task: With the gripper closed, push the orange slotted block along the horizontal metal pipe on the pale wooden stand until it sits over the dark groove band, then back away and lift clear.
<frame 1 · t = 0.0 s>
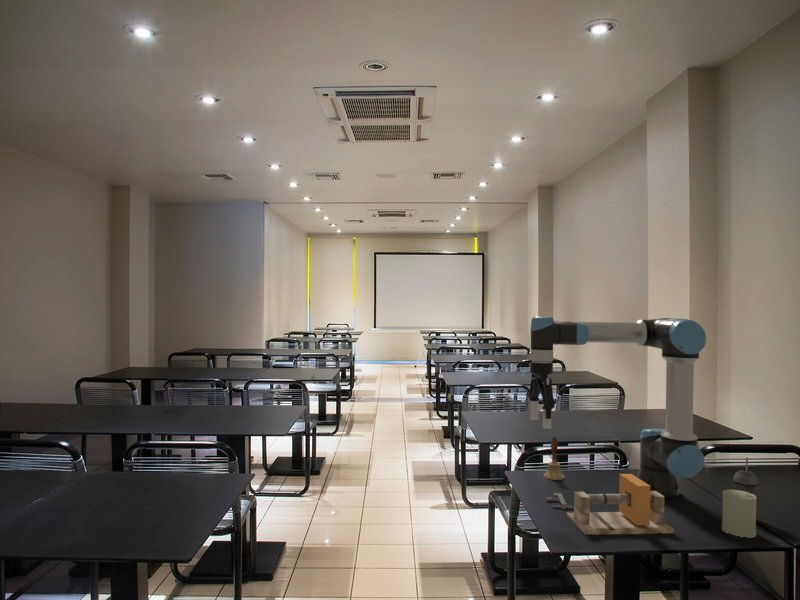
hand: (540, 423, 194), 28 cm above the table, tool pointing down, fingers open, 13 cm apart
pipe rig: (618, 524, 179), on the table
hand bell: (554, 477, 226), on the table
clamp: (561, 507, 195), on the table
pale green cylinder: (738, 532, 175), on the table
orange slotted block: (634, 498, 180), point 8 cm above the table, slide at 0.0 cm
beverage cup: (745, 518, 187), on the table
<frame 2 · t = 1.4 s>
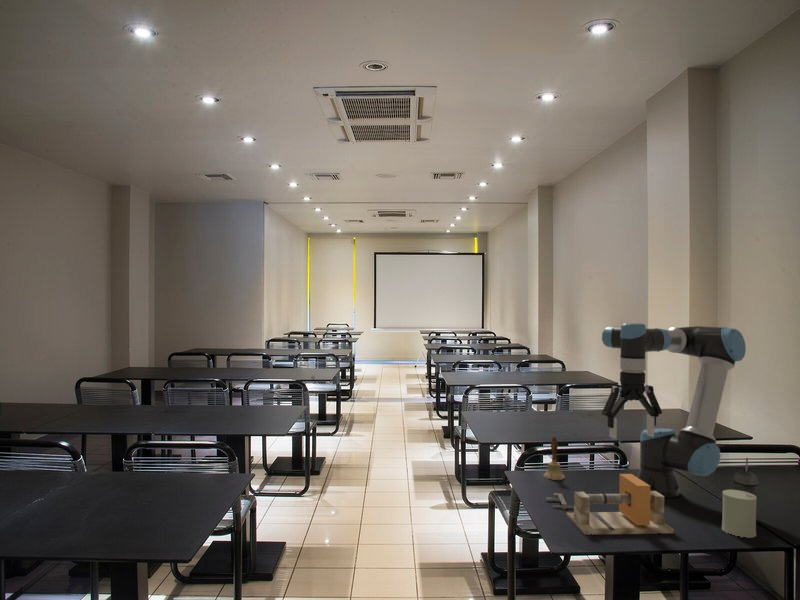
hand: (631, 437, 183), 27 cm above the table, tool pointing down, fingers open, 13 cm apart
nothing on the table moved.
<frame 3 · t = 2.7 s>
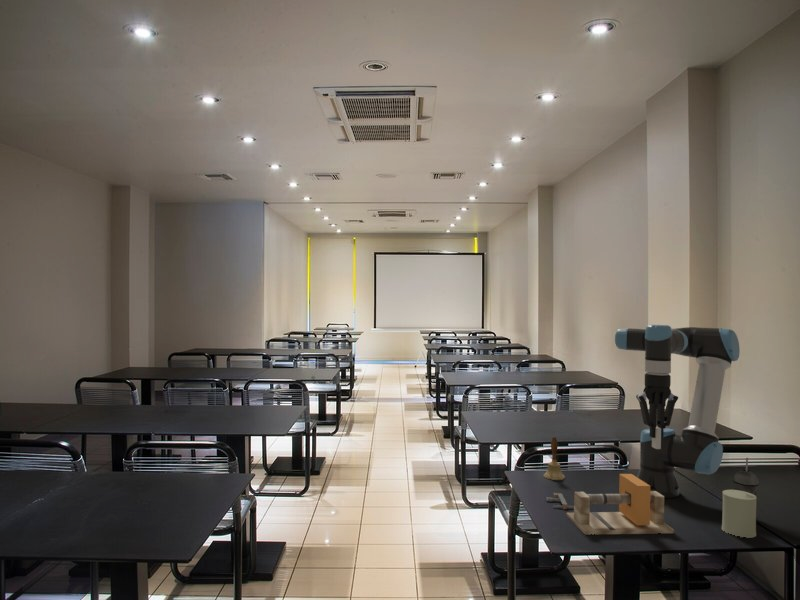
hand: (656, 447, 180), 24 cm above the table, tool pointing down, fingers closed
nothing on the table moved.
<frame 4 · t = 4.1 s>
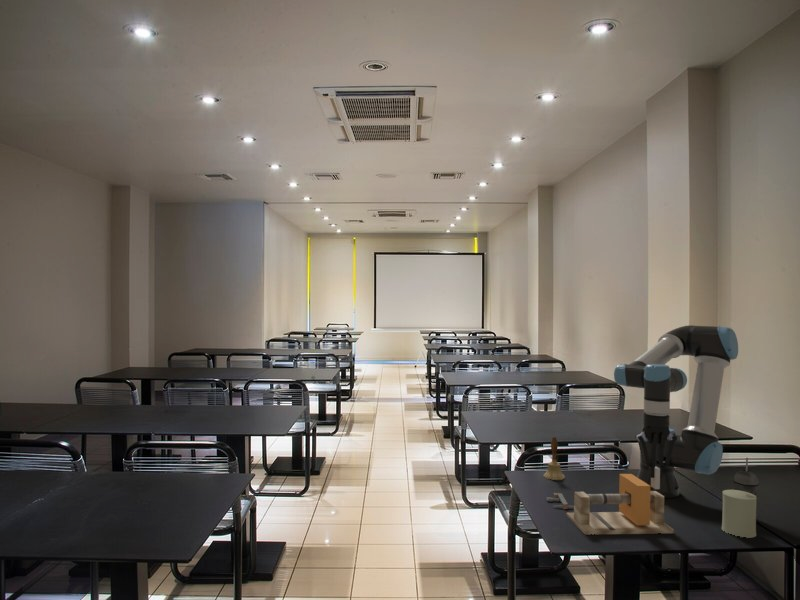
hand: (655, 487, 180), 11 cm above the table, tool pointing down, fingers closed
nothing on the table moved.
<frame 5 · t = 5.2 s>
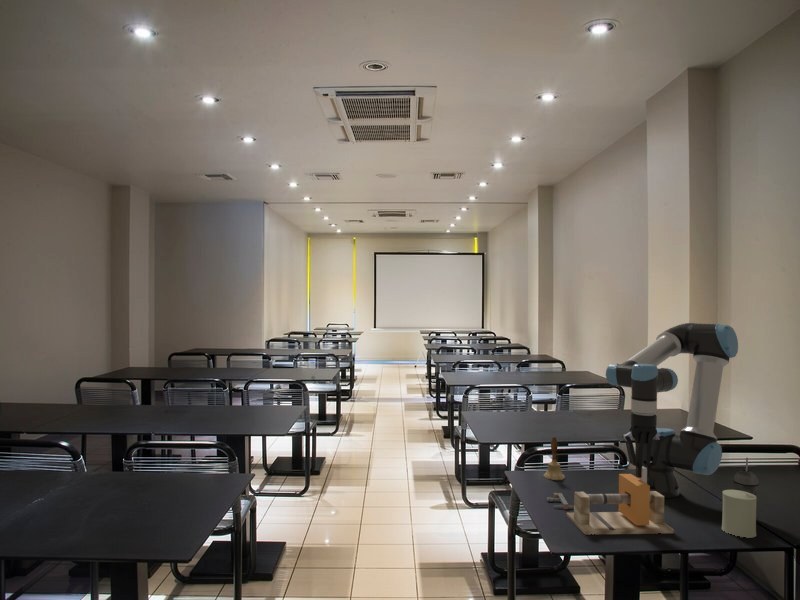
hand: (642, 487, 180), 12 cm above the table, tool pointing down, fingers closed
orange slotted block: (633, 498, 180), point 8 cm above the table, slide at 0.2 cm, touching gripper
everything else where it was.
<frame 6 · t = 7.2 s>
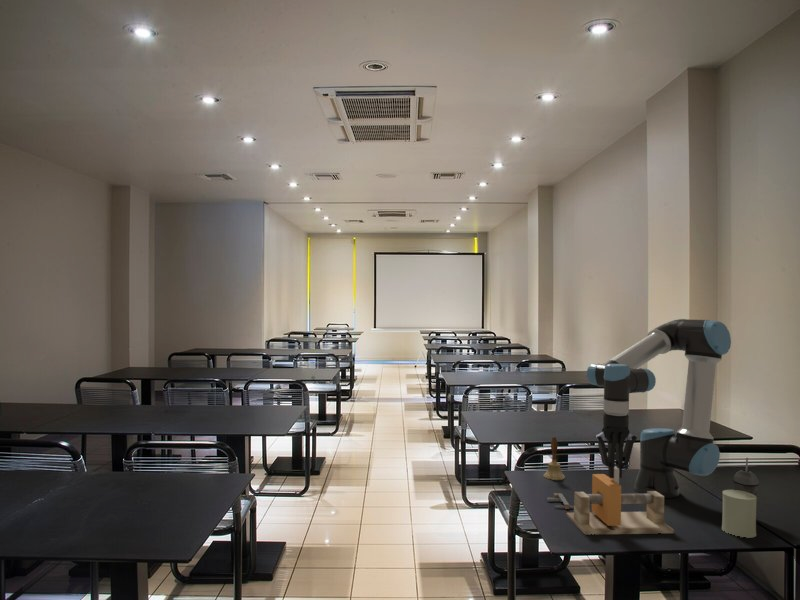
hand: (614, 488, 179), 11 cm above the table, tool pointing down, fingers closed
orange slotted block: (606, 498, 179), point 8 cm above the table, slide at 9.2 cm, touching gripper
everything else where it was.
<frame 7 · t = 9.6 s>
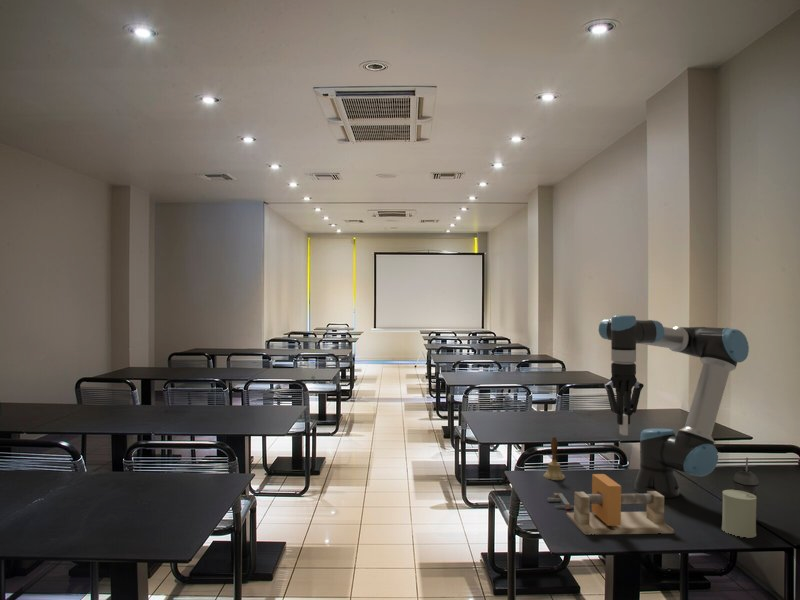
hand: (623, 434, 186), 27 cm above the table, tool pointing down, fingers closed
orange slotted block: (606, 498, 179), point 8 cm above the table, slide at 9.2 cm
everything else where it was.
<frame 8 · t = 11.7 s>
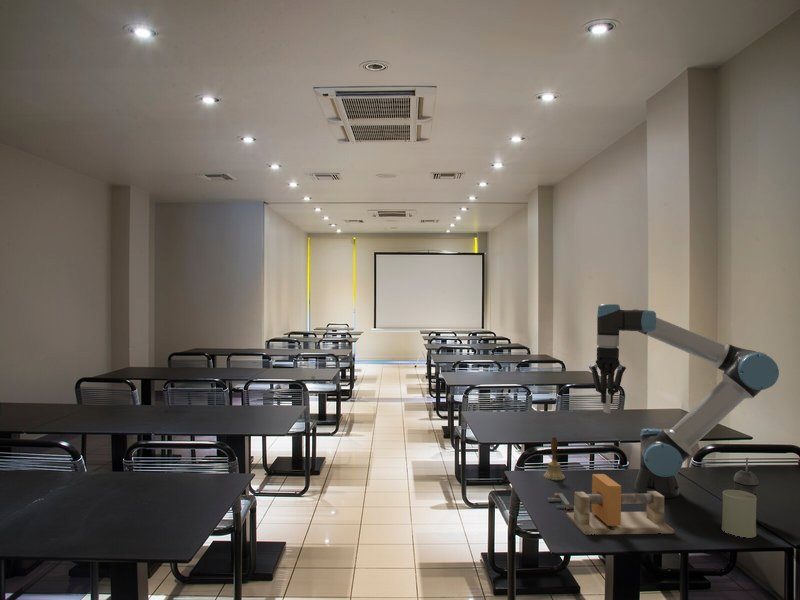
hand: (606, 412, 205), 30 cm above the table, tool pointing down, fingers closed
nothing on the table moved.
at the end: orange slotted block slide at 9.2 cm; orange slotted block moved 9.2 cm from its start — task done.
